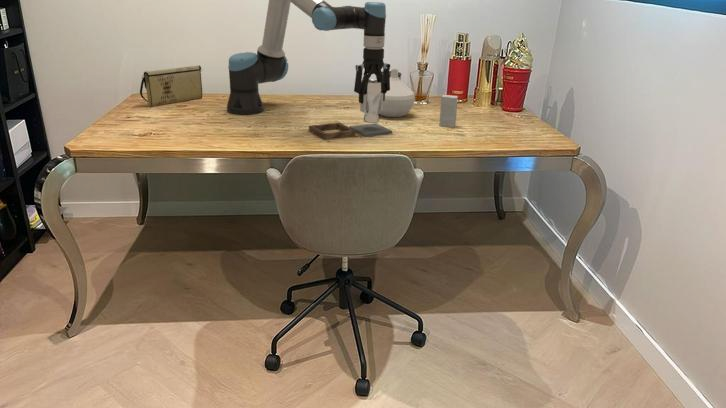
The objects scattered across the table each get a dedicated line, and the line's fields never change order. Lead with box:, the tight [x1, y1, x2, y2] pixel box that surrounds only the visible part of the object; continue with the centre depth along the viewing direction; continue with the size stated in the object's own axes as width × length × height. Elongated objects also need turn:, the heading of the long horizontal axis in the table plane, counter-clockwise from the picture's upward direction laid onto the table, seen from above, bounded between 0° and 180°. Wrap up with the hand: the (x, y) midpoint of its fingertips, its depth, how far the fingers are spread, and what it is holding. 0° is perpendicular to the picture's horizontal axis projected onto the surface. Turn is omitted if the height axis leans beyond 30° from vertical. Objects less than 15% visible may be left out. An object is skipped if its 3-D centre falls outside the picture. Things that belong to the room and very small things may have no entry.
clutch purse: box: [139, 65, 203, 107], centre depth 240 cm, size 30×7×15 cm, turn 140°
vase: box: [378, 68, 416, 118], centre depth 230 cm, size 18×18×19 cm
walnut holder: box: [308, 121, 357, 141], centre depth 204 cm, size 13×13×2 cm
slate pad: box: [348, 123, 393, 138], centre depth 209 cm, size 12×12×1 cm
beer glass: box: [362, 79, 382, 124], centre depth 204 cm, size 7×7×15 cm
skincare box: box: [439, 94, 459, 128], centre depth 218 cm, size 6×4×12 cm
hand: (371, 110), depth 206 cm, fingers closed on beer glass, 7 cm apart
